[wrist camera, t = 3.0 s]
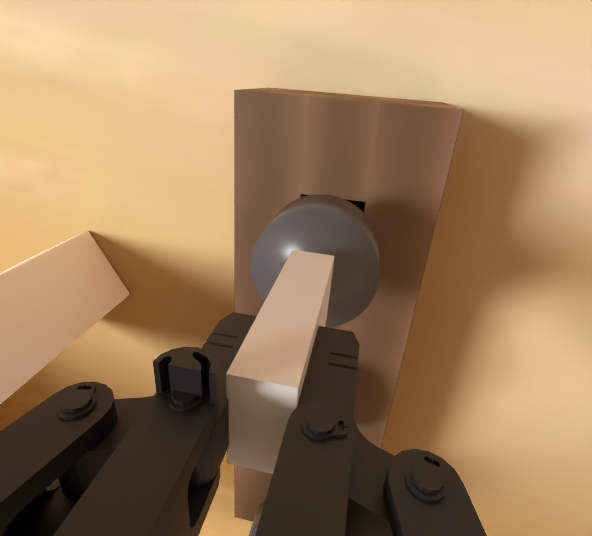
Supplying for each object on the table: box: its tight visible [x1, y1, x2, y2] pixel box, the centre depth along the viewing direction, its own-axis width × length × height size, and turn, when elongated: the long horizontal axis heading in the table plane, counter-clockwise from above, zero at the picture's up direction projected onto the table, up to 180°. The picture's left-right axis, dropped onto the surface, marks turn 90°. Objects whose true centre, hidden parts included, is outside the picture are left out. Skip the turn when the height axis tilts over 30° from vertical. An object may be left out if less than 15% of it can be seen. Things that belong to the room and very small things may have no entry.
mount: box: [234, 88, 463, 521], centre depth 27 cm, size 10×32×6 cm, turn 176°
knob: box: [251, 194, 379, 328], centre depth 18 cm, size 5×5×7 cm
